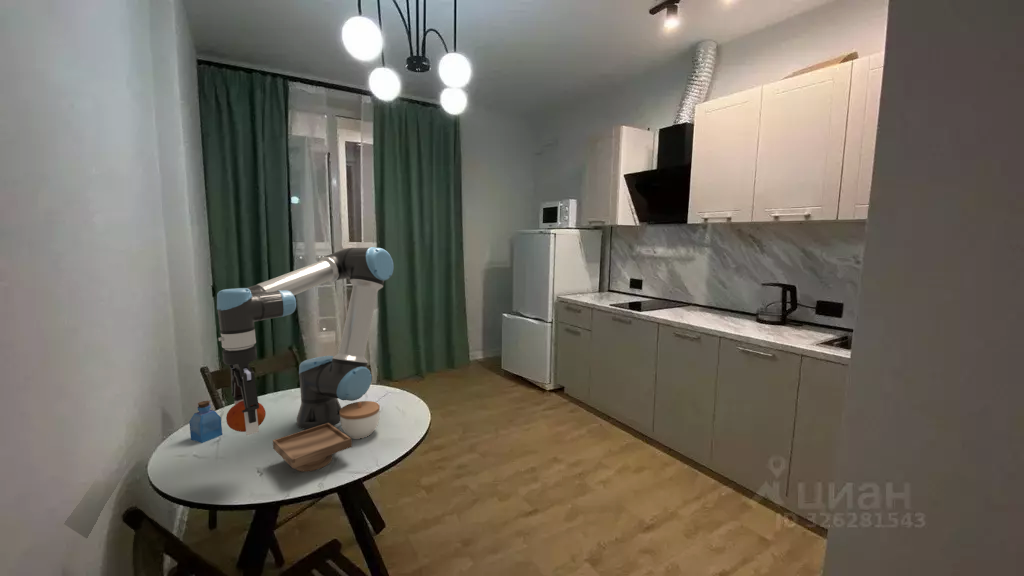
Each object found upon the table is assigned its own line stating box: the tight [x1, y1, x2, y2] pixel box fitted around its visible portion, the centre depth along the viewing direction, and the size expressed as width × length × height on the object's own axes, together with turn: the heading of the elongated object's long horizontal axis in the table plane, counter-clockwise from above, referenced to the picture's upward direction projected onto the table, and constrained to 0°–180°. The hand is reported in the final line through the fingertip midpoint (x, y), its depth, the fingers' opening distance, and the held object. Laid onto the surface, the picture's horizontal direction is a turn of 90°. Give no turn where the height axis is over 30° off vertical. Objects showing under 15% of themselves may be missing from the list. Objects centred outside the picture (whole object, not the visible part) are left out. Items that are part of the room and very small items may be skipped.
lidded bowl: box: [339, 400, 381, 440], centre depth 136 cm, size 13×13×11 cm
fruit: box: [225, 401, 266, 433], centre depth 110 cm, size 9×9×8 cm
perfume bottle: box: [189, 400, 223, 444], centre depth 135 cm, size 6×6×12 cm
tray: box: [272, 423, 353, 473], centre depth 119 cm, size 16×16×7 cm
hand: (247, 427), depth 110 cm, fingers closed on fruit, 9 cm apart
